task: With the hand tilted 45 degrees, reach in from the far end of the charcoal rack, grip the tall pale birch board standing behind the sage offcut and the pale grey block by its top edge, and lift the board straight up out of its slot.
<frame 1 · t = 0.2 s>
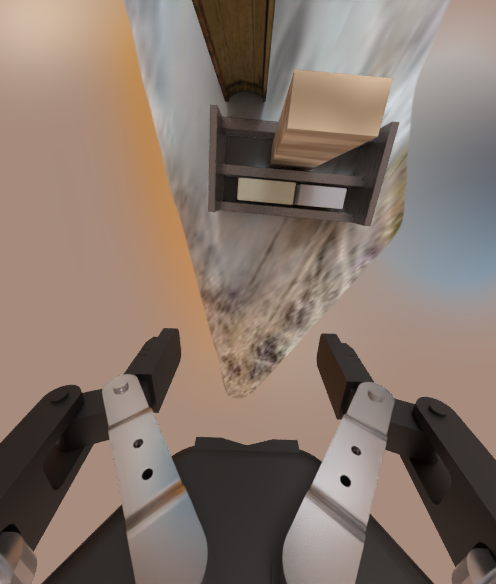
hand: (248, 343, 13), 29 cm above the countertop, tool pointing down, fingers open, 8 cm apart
pale grey block: (310, 196, 37), resting in rack
book: (245, 27, 30), on the countertop
rack: (288, 175, 36), on the countertop
birch board: (290, 157, 35), resting in rack
sage offcut: (263, 192, 37), resting in rack
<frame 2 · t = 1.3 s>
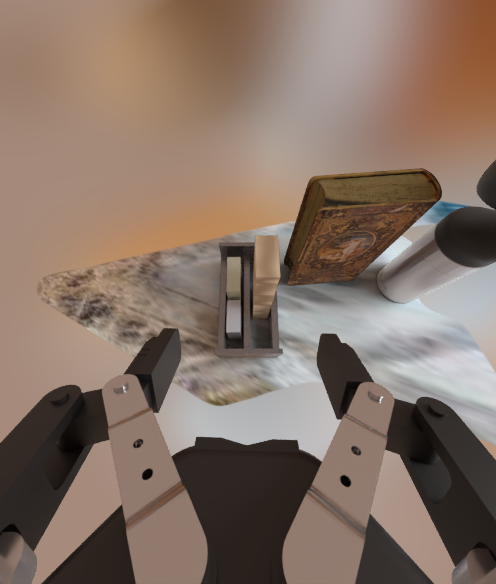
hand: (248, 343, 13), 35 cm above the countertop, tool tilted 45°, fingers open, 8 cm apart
pale grey block: (235, 324, 49), resting in rack
book: (319, 272, 53), on the countertop
rack: (248, 305, 50), on the countertop
birch board: (259, 305, 50), resting in rack
sage offcut: (235, 290, 51), resting in rack
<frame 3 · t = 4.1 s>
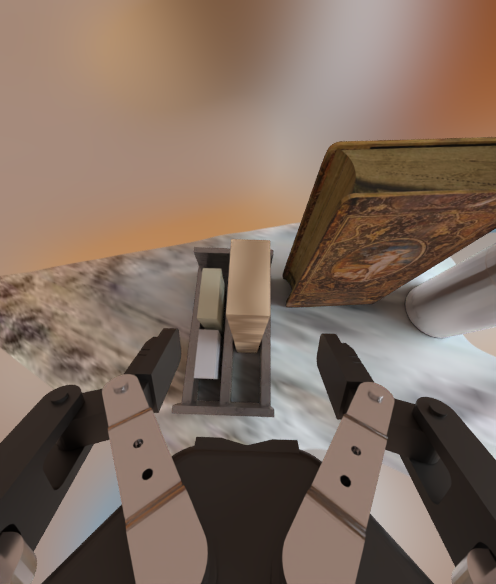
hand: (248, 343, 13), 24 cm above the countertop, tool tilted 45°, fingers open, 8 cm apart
pale grey block: (213, 358, 36), resting in rack
book: (329, 291, 40), on the countertop
rack: (232, 333, 37), on the countertop
birch board: (247, 333, 37), resting in rack
sage offcut: (217, 311, 39), resting in rack
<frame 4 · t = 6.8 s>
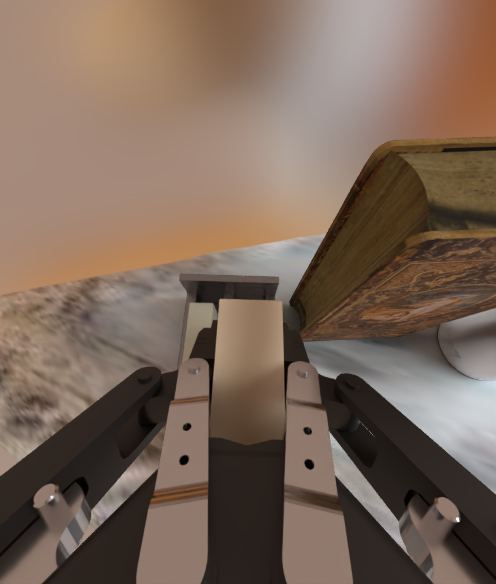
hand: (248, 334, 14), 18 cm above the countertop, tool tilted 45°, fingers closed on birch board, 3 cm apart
book: (345, 320, 34), on the countertop
rack: (228, 375, 31), on the countertop
birch board: (247, 376, 30), resting in rack, touching gripper
sage offcut: (210, 347, 32), resting in rack
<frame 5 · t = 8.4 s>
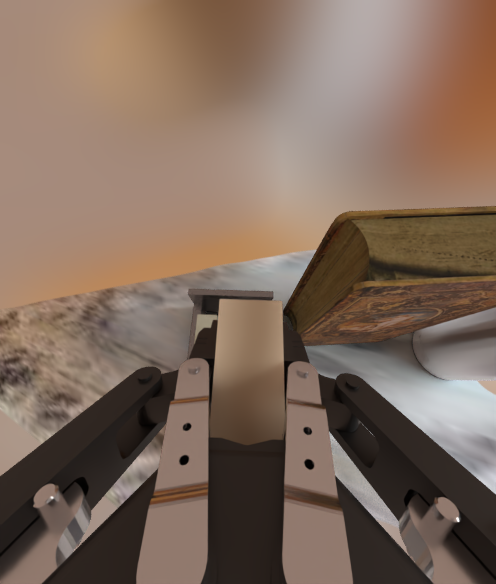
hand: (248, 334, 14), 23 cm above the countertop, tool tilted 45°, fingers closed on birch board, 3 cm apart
book: (332, 327, 38), on the countertop
rack: (229, 375, 35), on the countertop
birch board: (247, 376, 31), point 5 cm above the countertop, touching gripper
sage offcut: (213, 351, 36), resting in rack
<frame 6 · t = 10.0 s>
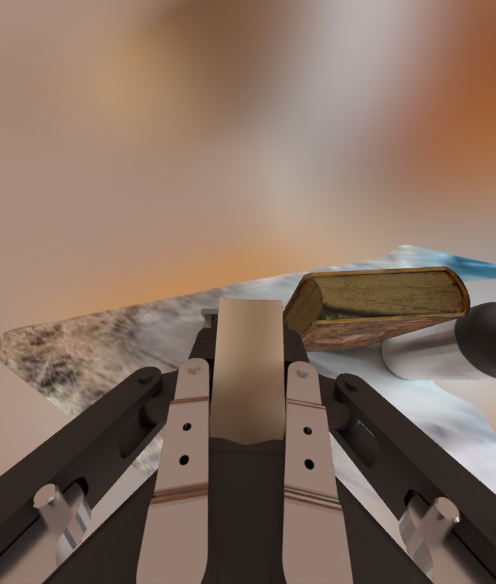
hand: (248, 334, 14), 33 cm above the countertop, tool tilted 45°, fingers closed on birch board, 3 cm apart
book: (316, 337, 47), on the countertop
birch board: (247, 376, 30), point 14 cm above the countertop, touching gripper
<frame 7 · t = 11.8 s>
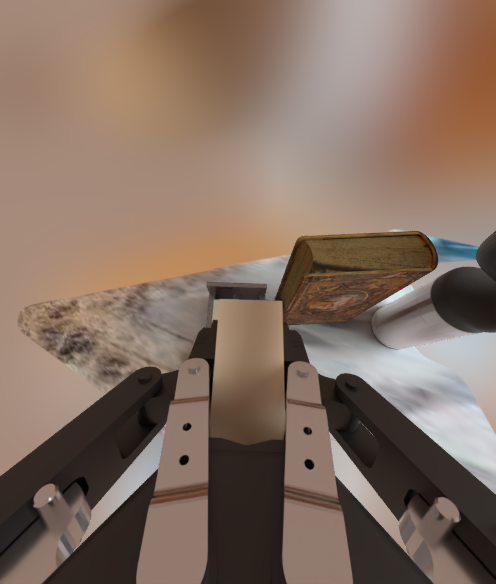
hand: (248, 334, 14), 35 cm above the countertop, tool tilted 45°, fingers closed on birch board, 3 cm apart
book: (312, 311, 51), on the countertop
rack: (235, 346, 48), on the countertop
birch board: (247, 376, 30), point 16 cm above the countertop, touching gripper
sage offcut: (223, 329, 49), resting in rack
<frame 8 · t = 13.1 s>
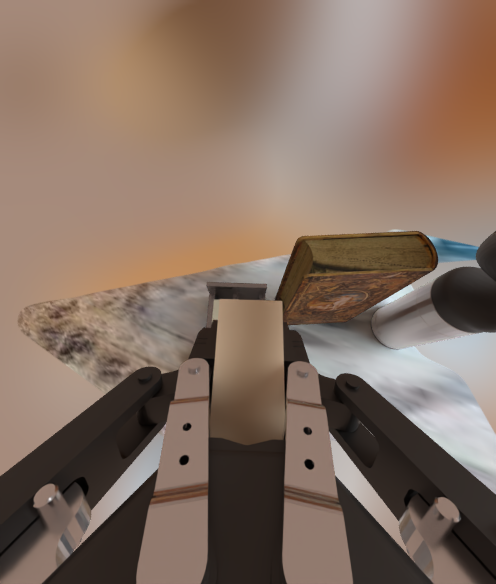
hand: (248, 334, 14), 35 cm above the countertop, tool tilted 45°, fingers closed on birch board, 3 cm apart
book: (312, 311, 51), on the countertop
rack: (235, 346, 48), on the countertop
birch board: (247, 376, 30), point 16 cm above the countertop, touching gripper
sage offcut: (223, 329, 49), resting in rack
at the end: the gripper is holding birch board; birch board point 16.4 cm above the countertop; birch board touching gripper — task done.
